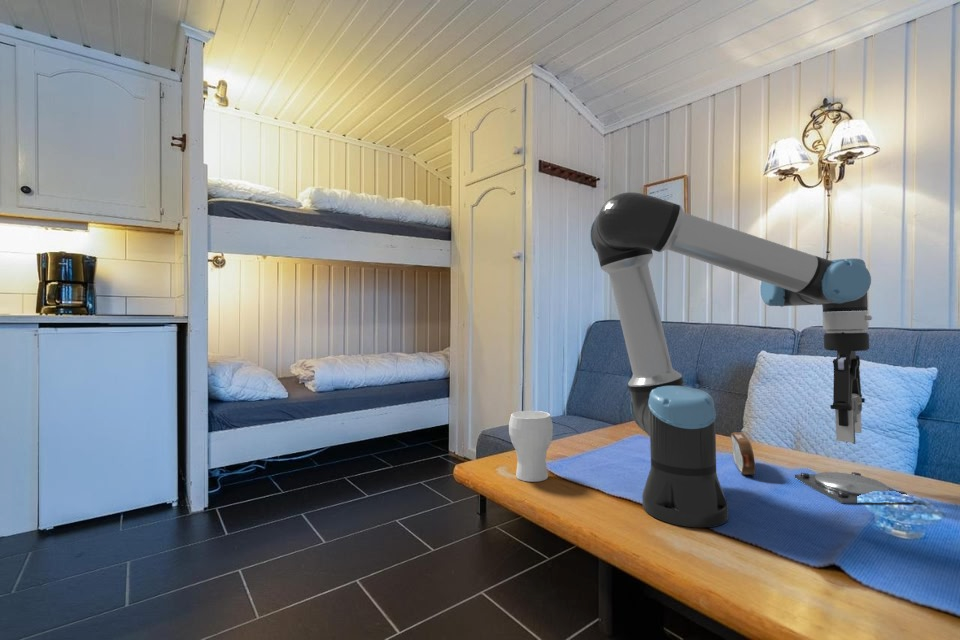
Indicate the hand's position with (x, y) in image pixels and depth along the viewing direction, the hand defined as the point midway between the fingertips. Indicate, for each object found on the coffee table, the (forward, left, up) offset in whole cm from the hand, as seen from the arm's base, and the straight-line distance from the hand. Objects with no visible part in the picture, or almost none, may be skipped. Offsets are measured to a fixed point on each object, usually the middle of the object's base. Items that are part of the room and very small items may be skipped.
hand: (849, 436), depth 95 cm
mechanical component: (0, 0, -2) cm, 2 cm away
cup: (-67, +10, -12) cm, 69 cm away
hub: (0, 0, -11) cm, 11 cm away
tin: (-15, +14, -12) cm, 24 cm away
